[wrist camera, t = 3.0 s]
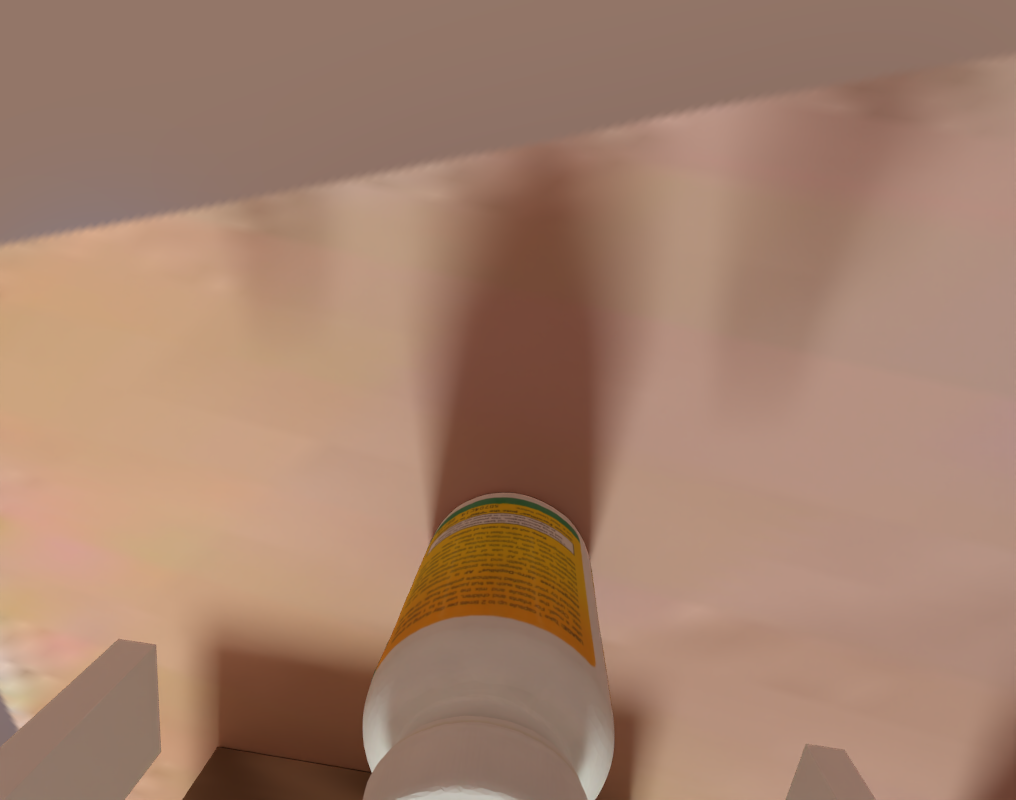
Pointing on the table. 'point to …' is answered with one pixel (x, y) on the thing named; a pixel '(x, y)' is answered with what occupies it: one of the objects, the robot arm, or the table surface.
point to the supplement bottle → (494, 666)
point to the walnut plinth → (273, 779)
